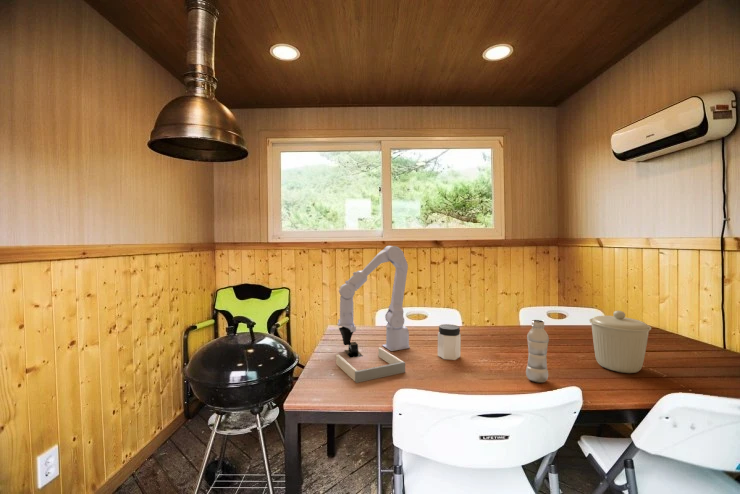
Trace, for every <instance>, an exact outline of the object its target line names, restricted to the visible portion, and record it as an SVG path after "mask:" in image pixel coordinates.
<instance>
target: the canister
mask: <svg viewBox="0 0 740 494" xmlns="http://www.w3.org/2000/svg"><path fill="white" fill-rule="evenodd" d="M588 320H589V323H590V324H591V331H592V332H591V333H592V334H591V335H592V341H593V349H594V350H593V351H594V355H595V356H594V357H595V360H596V362H597V363H598V364H599V366H601V367H602V368H605V369H607V370H609V371H613V372H617V373H624V374H634V373H638V372H639V371H641V369H642V368H643V364H644V361H645V356H646V350H647V345H648V339H649V332H650V331H651V330H652V327H651V325H648V324H647V323H645V322H644V321H642V320H639V319H635V318H631V317H627V316H626V313H625V312H624V311H622V310H614V311H613V315H597V316H594V317H592V318H590V319H588Z"/></svg>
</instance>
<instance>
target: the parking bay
mask: <svg viewBox="0 0 740 494" xmlns="http://www.w3.org/2000/svg"><path fill="white" fill-rule="evenodd" d="M377 349H378V351H377V353H378V358H380V359H381V360H383V361H384V362H386V363H387V364H384V365H380V366H374V367H370V368H364V369H360V370H359V369H357V368H355V366H353V365H352V363H351V364H350V363H349V362H348V361H347V360H346V359H345V358H344V357H342V355H340V354H338V353H337V354H335V361H336V362H335V364H336V365H337V366H338V367H339V368H340V369H341V370H342V371H343V372H344V373H345V374H346V375H347V376H348V377H350V378H351V379H352V380H353V381H354V382H355V384H357V383H362V382H366V381H371V380H375V379H381V378H384V377H389V376H390V377H391V376H395V375H399V374H403V373H406V362H405V361H403V360H401V359H400V358H398V357H397V356H395V355H393V354H392V353H390V352H389V351H387V349H386V350H385V349H384V348H382V347H378V348H377Z"/></svg>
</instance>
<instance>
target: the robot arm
mask: <svg viewBox="0 0 740 494" xmlns="http://www.w3.org/2000/svg"><path fill="white" fill-rule="evenodd" d="M389 262H390V263H391V264H392V265H393V267H394V268H395V272H394V279H393V286H392V293H391V297H390V298H391V299H390V304H389V306H388V309H387V311H386V313H385V316H384V317H385V321H386V327H385V332H386V333H385V336H386V337H385V338H386V339H385V343H383V344H382V345H381V346H382V347H384V348H385V349H386V350H389V351H390V352H393V351H398V350H399V351H401V350H406V349H410V348H411V347H410V332H409V329H408V327H407V326H406V325H405V317H404V307H403V303H404V299H405V297H404V296H405V289H406V283H407V278H408V277H407V276H408V275H407V274H408V270H409V269H408V268H409V263H408V261H407V259H406V256H405V253H404V251H403V250H402V248H400V247H399V246H396V245H387V246H385V247H384V248H383V249H381V250H380V251H379V252H378V253H377V254H376V255H375V256H374V257H373V258H372V260H370V261H369V263H367V264H366V265H365V266H364V268H363V269H362V270H357V271H353V272H352V276H351V277H350V278H349V279H347V280H345V281H344V283H343V284H342V285H340V286H339V289H338V292H339V295H340V296H339V297H340V298H339V300H340V301H339V319H338V320H337V321H338V322H337V323H336V325H337V326H338V330H339V332H340V334H341V337H342V338H341V339H342V342H343V346H349V342H351V339H352V336H353V334H354V332H356V331H357V329H356V328H357V327H356V326H355V322H354V296H355V294H356V291H358V290H359V289H360V288H361V287H362V286H363V285H364V284H365V283H366V282H368V276H369V275H370V274H372V272H374V270H375V269H377V268H378V266H380V265H381V264H383V263H384V264H385V263H389Z"/></svg>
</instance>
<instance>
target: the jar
mask: <svg viewBox="0 0 740 494" xmlns="http://www.w3.org/2000/svg"><path fill="white" fill-rule="evenodd" d="M461 337H462V335H461V329H460V326H458V325H455V324H450V323H444V324H440V325H438V332H437V356H438V357H439V358H441V359H442V360H449V361H457V360H458V359H459V358H460V357H461V343H462V342H461Z"/></svg>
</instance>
